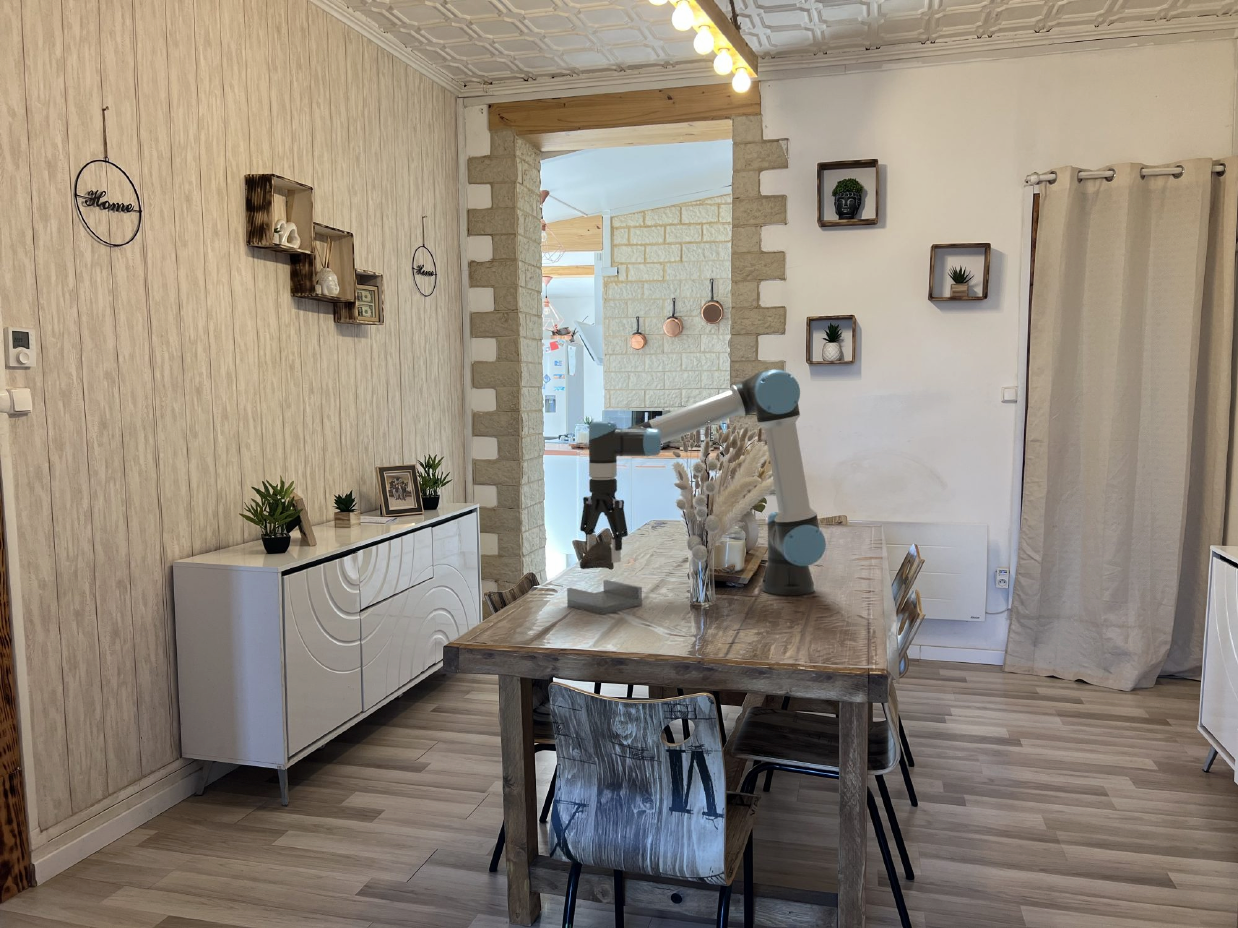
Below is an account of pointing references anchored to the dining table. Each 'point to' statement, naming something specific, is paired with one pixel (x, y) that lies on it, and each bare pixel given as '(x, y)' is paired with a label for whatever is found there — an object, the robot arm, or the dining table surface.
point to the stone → (598, 557)
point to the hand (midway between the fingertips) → (603, 559)
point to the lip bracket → (606, 598)
